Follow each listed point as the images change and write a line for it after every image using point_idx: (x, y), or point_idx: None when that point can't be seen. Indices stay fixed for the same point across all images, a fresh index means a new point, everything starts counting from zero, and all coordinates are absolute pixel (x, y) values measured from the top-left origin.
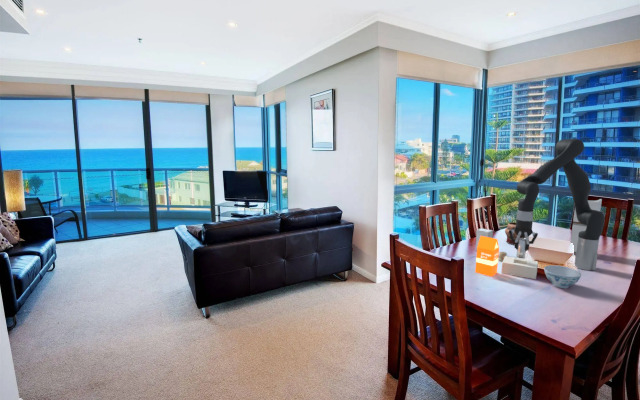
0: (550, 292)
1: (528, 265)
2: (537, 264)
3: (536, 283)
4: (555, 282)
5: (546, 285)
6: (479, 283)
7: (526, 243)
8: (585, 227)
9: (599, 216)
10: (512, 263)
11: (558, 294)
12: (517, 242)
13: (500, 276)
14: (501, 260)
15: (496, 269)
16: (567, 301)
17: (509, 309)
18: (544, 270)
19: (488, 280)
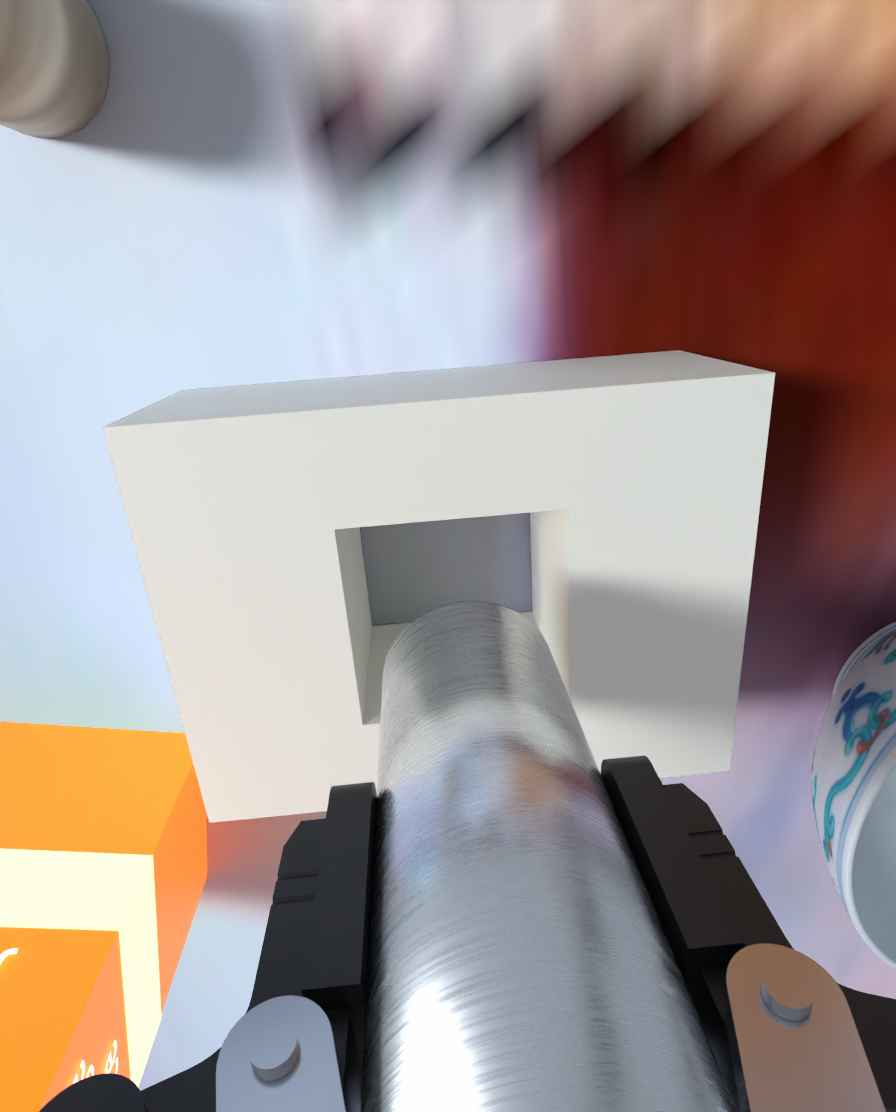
0: (779, 905)
1: (605, 719)
2: (750, 576)
3: (665, 779)
4: (880, 843)
5: (762, 771)
6: (181, 1070)
7: (690, 969)
8: None
9: None
10: (362, 778)
11: (842, 905)
12: (359, 1101)
13: (282, 817)
14: (31, 131)
15: (188, 800)
16: (885, 984)
17: None
18: (829, 842)
19: (219, 976)
